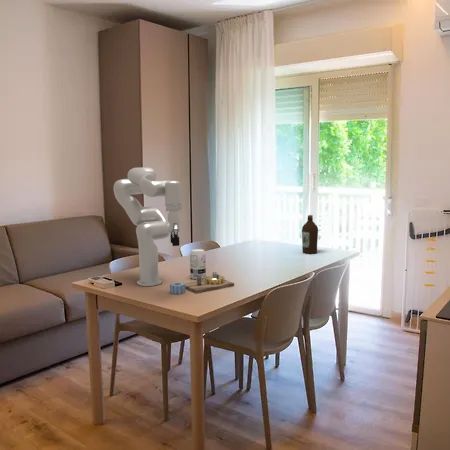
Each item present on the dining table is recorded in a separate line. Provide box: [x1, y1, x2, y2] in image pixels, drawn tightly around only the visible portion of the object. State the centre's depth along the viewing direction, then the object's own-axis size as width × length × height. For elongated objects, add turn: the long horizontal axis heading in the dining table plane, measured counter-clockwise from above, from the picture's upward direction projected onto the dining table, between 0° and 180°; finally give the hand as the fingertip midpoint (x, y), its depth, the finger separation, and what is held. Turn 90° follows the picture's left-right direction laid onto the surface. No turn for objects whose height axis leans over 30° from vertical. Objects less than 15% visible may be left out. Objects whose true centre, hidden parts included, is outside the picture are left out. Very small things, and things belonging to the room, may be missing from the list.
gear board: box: [184, 275, 235, 294], centre depth 241 cm, size 14×22×6 cm, turn 124°
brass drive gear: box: [204, 271, 226, 285], centre depth 243 cm, size 10×10×5 cm
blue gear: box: [169, 281, 186, 295], centre depth 232 cm, size 7×7×4 cm
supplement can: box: [189, 248, 207, 280], centre depth 258 cm, size 8×8×15 cm
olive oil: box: [301, 214, 319, 255], centre depth 321 cm, size 11×11×25 cm
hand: (175, 244), depth 227 cm, fingers open, 9 cm apart
